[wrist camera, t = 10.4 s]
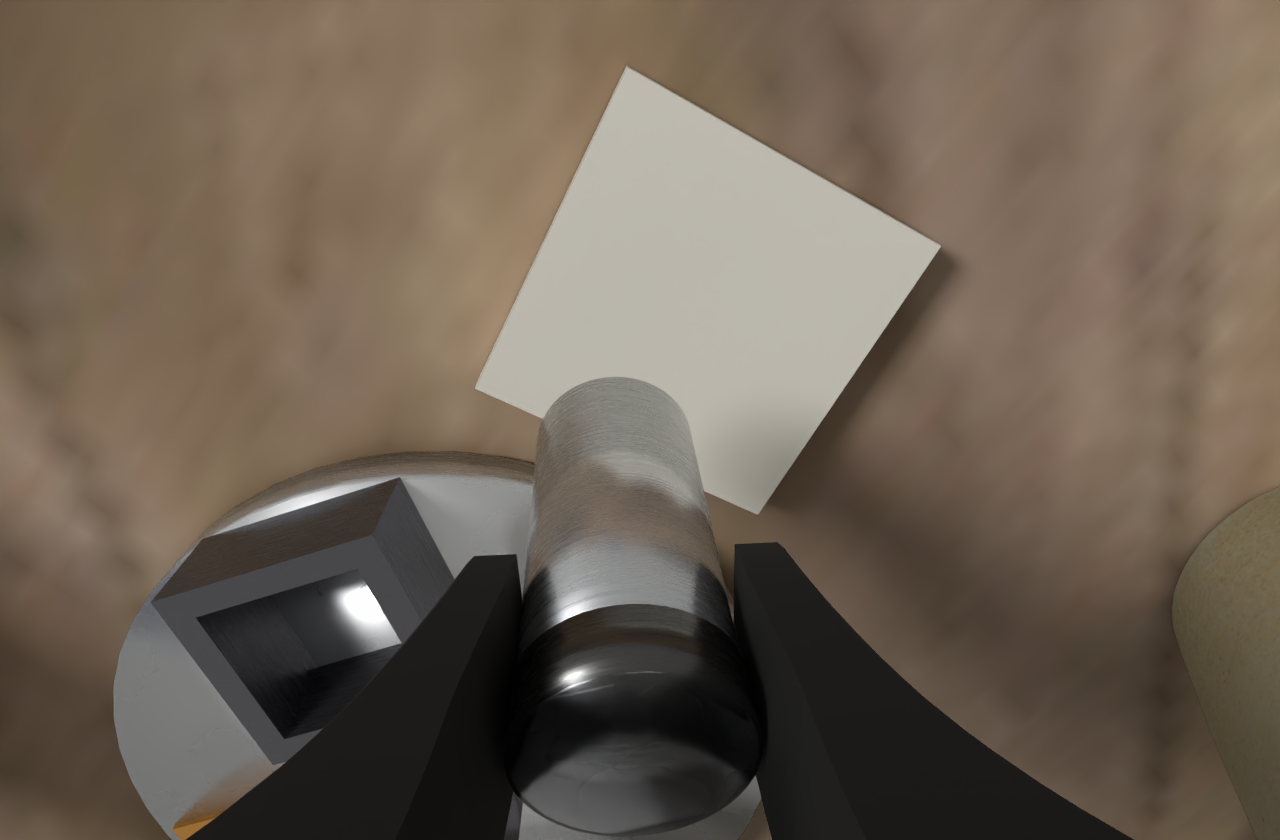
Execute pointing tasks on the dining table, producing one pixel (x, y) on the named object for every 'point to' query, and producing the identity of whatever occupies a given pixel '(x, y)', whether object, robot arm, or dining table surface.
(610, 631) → the shiny metal cylinder
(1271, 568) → the plant pot
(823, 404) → the rest
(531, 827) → the collar wheel
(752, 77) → the dining table surface
